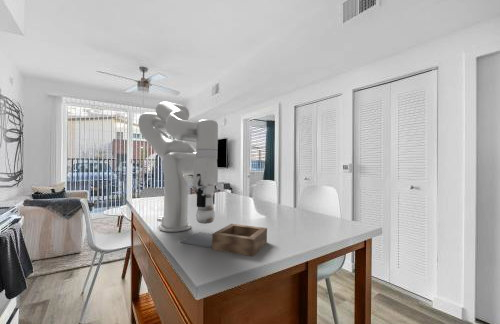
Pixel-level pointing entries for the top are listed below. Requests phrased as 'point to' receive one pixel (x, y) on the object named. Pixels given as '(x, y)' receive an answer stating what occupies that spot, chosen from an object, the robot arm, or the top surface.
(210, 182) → the plastic bottle
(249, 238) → the square wooden tray
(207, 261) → the top surface
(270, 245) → the top surface
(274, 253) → the top surface
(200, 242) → the mat
